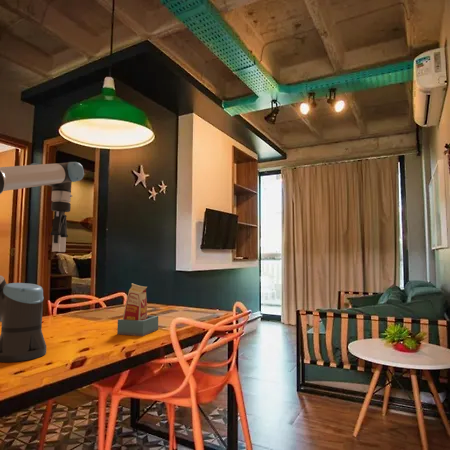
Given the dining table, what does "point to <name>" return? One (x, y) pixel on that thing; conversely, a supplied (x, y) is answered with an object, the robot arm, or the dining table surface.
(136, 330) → the box
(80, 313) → the dining table surface
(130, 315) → the milk carton
